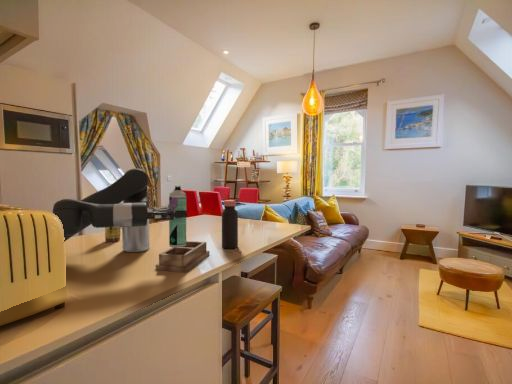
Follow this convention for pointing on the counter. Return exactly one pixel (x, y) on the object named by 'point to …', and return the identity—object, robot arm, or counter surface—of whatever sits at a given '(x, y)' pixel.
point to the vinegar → (229, 225)
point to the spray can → (178, 224)
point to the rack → (182, 257)
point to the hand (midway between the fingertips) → (185, 212)
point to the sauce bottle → (112, 234)
